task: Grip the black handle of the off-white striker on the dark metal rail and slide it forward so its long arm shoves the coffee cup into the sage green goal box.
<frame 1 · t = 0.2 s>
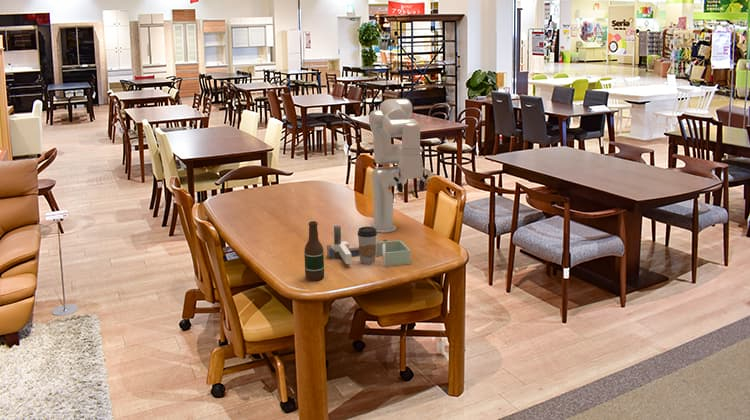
hand: (410, 190, 299), 31 cm above the table, tool pointing down, fingers open, 9 cm apart
rail: (358, 254, 313), on the table
beer bottle: (314, 278, 287), on the table
striker: (344, 244, 303), point 8 cm above the table, slide at 0.0 cm
goal: (391, 259, 307), on the table
coffee cup: (367, 262, 305), on the table
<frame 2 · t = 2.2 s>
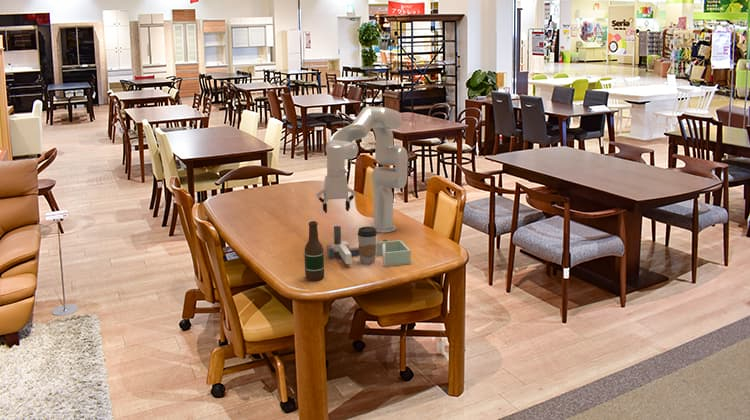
hand: (336, 211, 305), 21 cm above the table, tool pointing down, fingers open, 9 cm apart
nothing on the table moved.
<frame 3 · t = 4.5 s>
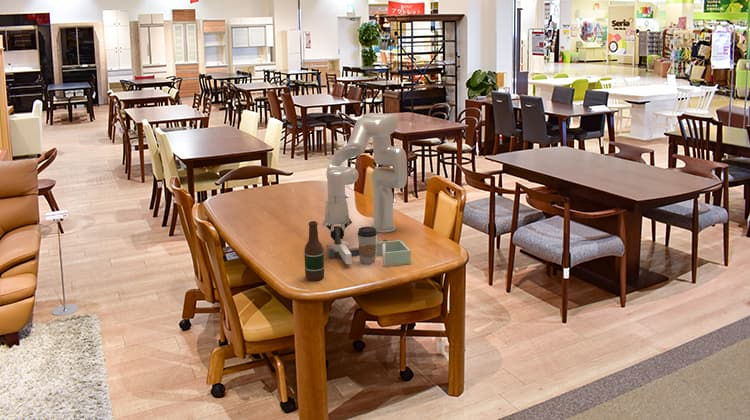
hand: (337, 238, 309), 9 cm above the table, tool pointing down, fingers closed on striker, 3 cm apart
striker: (344, 244, 303), point 8 cm above the table, slide at 0.0 cm, touching gripper
everything else where it was.
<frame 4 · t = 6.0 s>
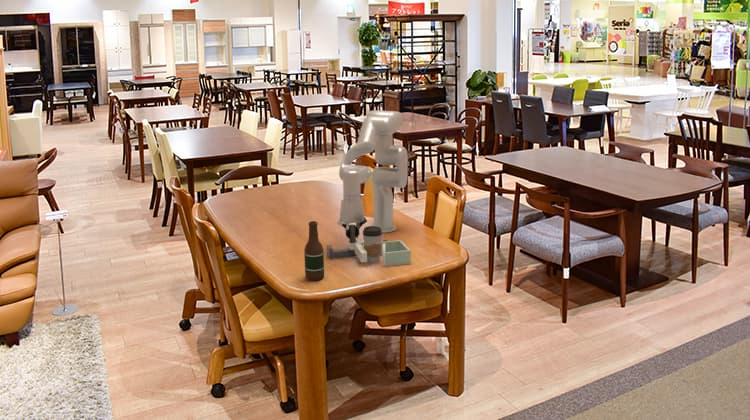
hand: (352, 236, 310), 9 cm above the table, tool pointing down, fingers closed on striker, 3 cm apart
striker: (359, 242, 305), point 8 cm above the table, slide at 6.8 cm, touching coffee cup, gripper
coffee cup: (372, 261, 305), on the table, touching striker
everything else where it was.
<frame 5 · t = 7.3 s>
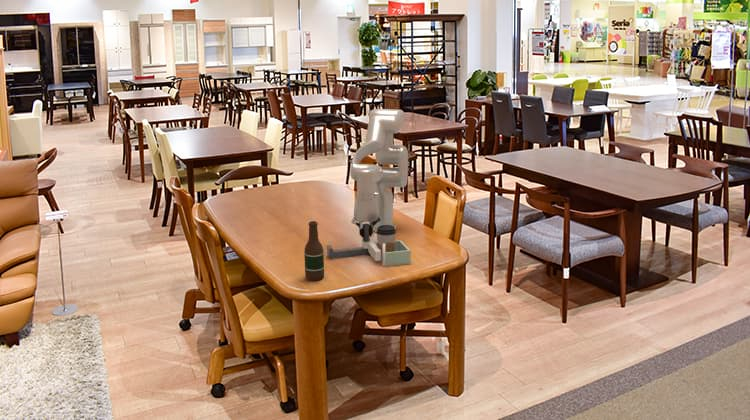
hand: (366, 235, 312), 9 cm above the table, tool pointing down, fingers closed on striker, 3 cm apart
striker: (373, 241, 306), point 8 cm above the table, slide at 13.1 cm, touching coffee cup, gripper
coffee cup: (386, 260, 307), on the table, touching striker
everything else where it was.
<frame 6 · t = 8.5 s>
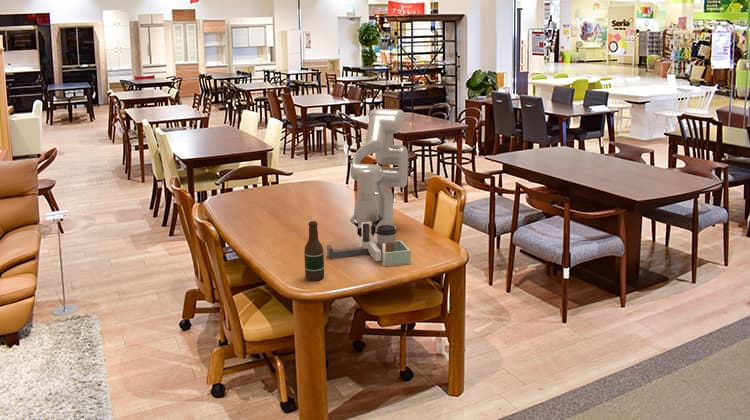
hand: (366, 235, 312), 9 cm above the table, tool pointing down, fingers open, 5 cm apart
striker: (373, 241, 306), point 8 cm above the table, slide at 13.1 cm
coffee cup: (386, 260, 307), on the table
everything else where it was.
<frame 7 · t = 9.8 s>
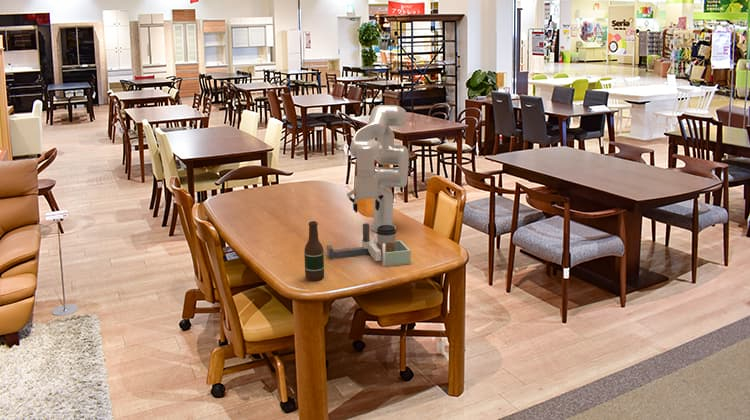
hand: (366, 210, 309), 20 cm above the table, tool pointing down, fingers open, 9 cm apart
nothing on the table moved.
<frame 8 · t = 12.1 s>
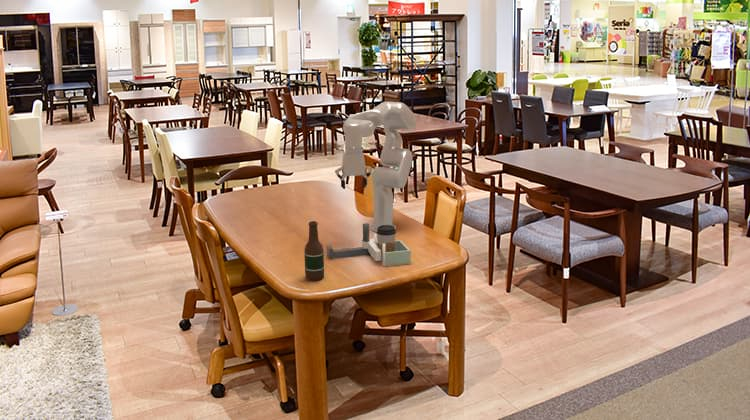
hand: (354, 187, 316), 28 cm above the table, tool pointing down, fingers open, 9 cm apart
nothing on the table moved.
at the end: coffee cup inside the target area (2.4 cm from its centre), on the table; coffee cup tilted 0°; striker slide at 13.1 cm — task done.
